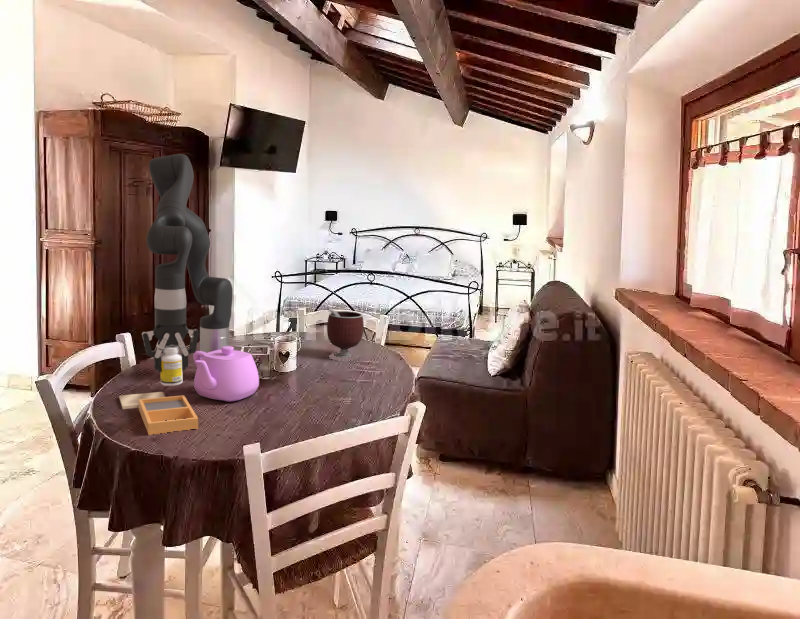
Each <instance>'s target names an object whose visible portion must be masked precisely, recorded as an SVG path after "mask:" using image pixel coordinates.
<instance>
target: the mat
mask: <svg viewBox="0 0 800 619" xmlns="http://www.w3.org/2000/svg"><path fill="white" fill-rule="evenodd" d="M160 397H166V396H165V392H163V391H156V392H145V393H135V394H123V395H119V396H118V399H119V403H120V405H121V409H122V410H126V409H129V410H130V409H135V408H136V409H137V408H138V409H139V399H149V398H160Z"/></svg>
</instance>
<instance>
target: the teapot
mask: <svg viewBox="0 0 800 619" xmlns="http://www.w3.org/2000/svg"><path fill="white" fill-rule="evenodd" d="M201 356H202V358H201ZM192 358H193V362H194V365H195V366H196V371H195V374H194V375H195V376H194V378H193V379H194V380H193V386H194V389H195V391H196V392H197V394H198V395H199V396H201V397H204V398H207V399H212V400H218V401H223V402H227V403H230V402H231V403H233V402H235V401H241V400H242V399H245V398H248V397H250V396H252V395H254V394H255V393H256V392H257V391H258V388H259V386H260V378H259V371H258V369H257V368H258V367H257V365H256V363H255V360H254V357H253V355H252V354H251V353H249V352H246V351H242V350H236V349H234V347H233V346H231V345H229V346H223V347H221V349H220V350H215V351H212V352H209V353H206V352H202V351H200V350H196V351H195V353H192Z"/></svg>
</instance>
